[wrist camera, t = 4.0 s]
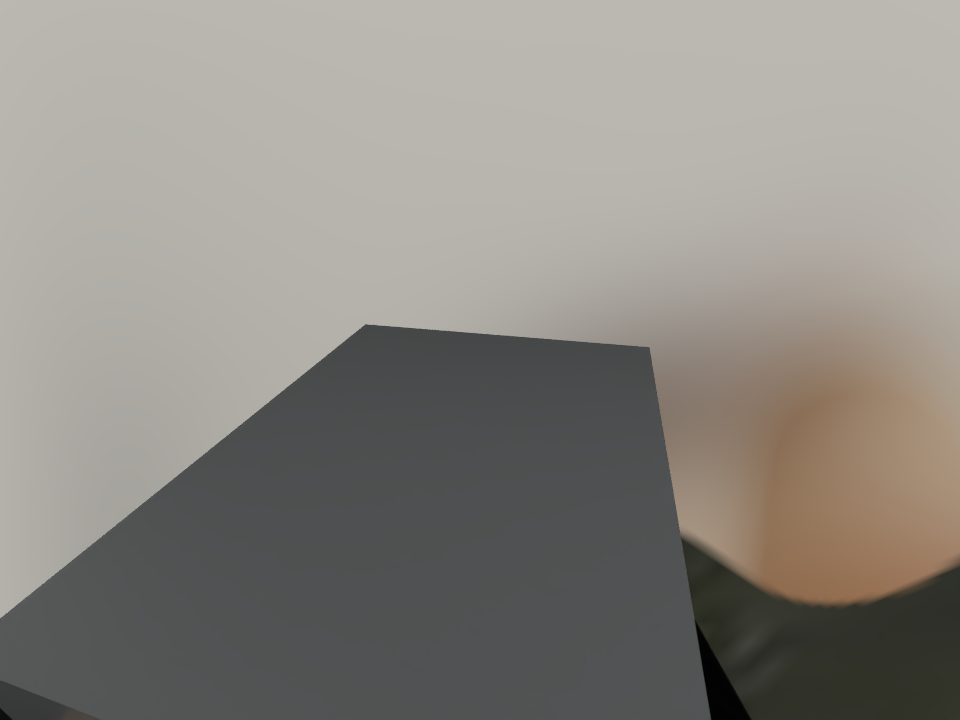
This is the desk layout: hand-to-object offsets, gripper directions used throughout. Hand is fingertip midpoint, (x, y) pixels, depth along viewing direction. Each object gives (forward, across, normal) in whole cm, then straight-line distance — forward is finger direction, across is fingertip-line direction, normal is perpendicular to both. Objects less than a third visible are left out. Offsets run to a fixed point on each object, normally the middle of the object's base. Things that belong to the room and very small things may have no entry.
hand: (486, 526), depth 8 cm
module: (+1, 0, 0) cm, 1 cm away
